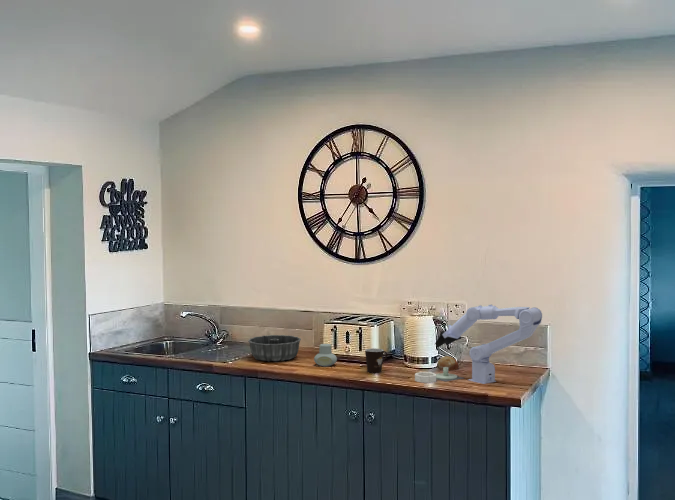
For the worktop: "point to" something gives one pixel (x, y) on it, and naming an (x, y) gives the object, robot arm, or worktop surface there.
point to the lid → (446, 375)
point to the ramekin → (425, 377)
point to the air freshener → (325, 356)
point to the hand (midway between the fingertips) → (441, 344)
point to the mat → (451, 380)
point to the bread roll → (447, 363)
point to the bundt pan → (274, 347)
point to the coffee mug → (374, 360)
